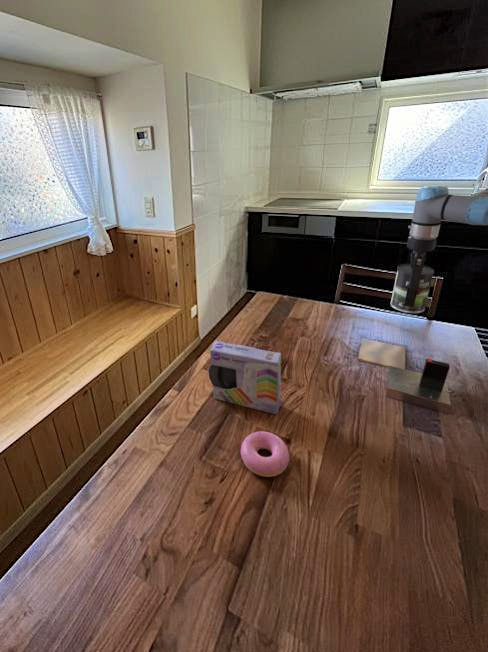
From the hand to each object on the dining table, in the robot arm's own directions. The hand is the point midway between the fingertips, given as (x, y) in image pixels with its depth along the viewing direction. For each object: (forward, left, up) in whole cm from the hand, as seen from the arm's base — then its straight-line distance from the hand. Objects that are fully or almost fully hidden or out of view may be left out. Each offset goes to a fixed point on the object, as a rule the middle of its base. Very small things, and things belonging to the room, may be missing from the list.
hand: (408, 299), depth 116 cm
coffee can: (0, 0, -3) cm, 3 cm away
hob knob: (-7, +33, -10) cm, 35 cm away
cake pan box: (+37, +58, -13) cm, 70 cm away
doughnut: (+26, +73, -13) cm, 78 cm away
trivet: (+5, +18, -13) cm, 23 cm away
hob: (-4, +33, -13) cm, 36 cm away
